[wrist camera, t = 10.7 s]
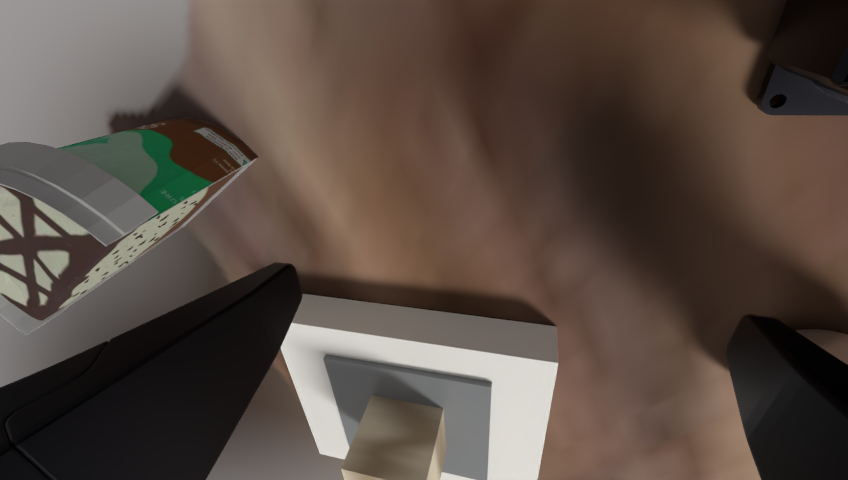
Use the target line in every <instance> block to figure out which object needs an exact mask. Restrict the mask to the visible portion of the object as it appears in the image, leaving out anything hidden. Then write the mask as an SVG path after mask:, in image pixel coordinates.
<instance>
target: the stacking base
mask: <svg viewBox="0 0 848 480" xmlns="http://www.w3.org/2000/svg"><path fill="white" fill-rule="evenodd" d="M281 351H282V353H283V356H284V359H285V361H286V364H287V367H288V369H289V372H290V375H291V377H292V380H293V383H294V385H295V388H296V391H297V393H298V396H299V399H300V401H301V404H302V407H303V409H304V412H305V415H306V417H307V420H308V423H309V425H310V428H311V431H312V433H313V436H314V438H315V441H316V444H317V447H318V449H319V452H320V454H324V455H328V456H332V457H337V458H340V459H345V458H346V455H347V453H348V451H349V448H350V446H351V443H352V441H353V439H354V436H355V434H356V431H357V429H358V427H359V424H360V422H361V419H362V417H363V415H364V412H365V410H366V408H367V405H368V403H369V400H370V398H371V396H372V395H374V396H379V397H385V398H390V399H395V400H400V401H406V402H411V403H416V404H422V405H427V406H432V407H437V408H443V409H444V425H445V441H446V454H445V459H444V464H443V468H442V473H441V478H440V480H537V479H538V473H539V468H540V462H541V457H542V451H543V445H544V440H545V434H546V429H547V423H548V418H549V412H550V406H551V401H552V395H553V390H554V384H555V379H556V373H557V367H558V342H557V326H549V325H542V324H534V323H526V322H518V321H511V320H503V319H495V318H487V317H480V316H472V315H464V314H457V313H449V312H441V311H433V310H426V309H418V308H410V307H402V306H395V305H387V304H379V303H371V302H364V301H356V300H348V299H340V298H333V297H325V296H317V295H309V294H302V300H301V303H300V305H299V308H298V310H297V312H296V314H295V316H294V319H293V321H292V323H291V325H290V328H289V330H288V332H287V334H286V337H285V339H284V341H283V343H282V346H281Z"/></svg>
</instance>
